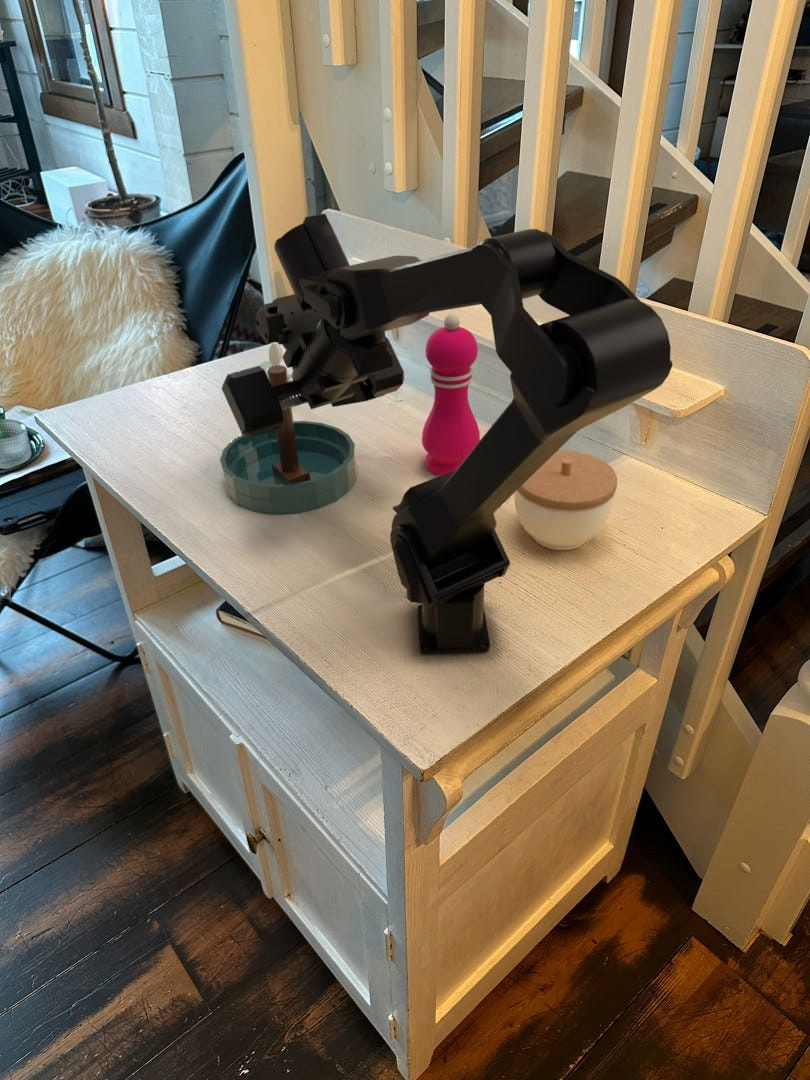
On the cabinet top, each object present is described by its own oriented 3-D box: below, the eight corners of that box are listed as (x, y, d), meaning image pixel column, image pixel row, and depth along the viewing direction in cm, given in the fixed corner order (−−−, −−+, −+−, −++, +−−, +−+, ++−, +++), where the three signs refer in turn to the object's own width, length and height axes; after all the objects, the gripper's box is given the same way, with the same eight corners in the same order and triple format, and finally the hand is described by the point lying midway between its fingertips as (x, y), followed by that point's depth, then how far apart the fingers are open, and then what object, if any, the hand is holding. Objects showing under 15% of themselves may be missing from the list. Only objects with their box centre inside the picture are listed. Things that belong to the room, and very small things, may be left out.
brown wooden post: (310, 482, 93) (297, 372, 85) (290, 489, 92) (275, 379, 84) (292, 466, 97) (278, 359, 88) (272, 473, 95) (256, 365, 87)
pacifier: (267, 398, 115) (301, 385, 118) (260, 359, 112) (295, 347, 114) (245, 382, 120) (277, 371, 123) (237, 345, 116) (271, 334, 119)
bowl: (355, 517, 88) (352, 484, 86) (216, 522, 88) (209, 489, 86) (358, 449, 101) (356, 418, 99) (237, 453, 101) (232, 423, 99)
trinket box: (581, 576, 78) (591, 499, 73) (492, 541, 84) (495, 467, 78) (624, 527, 85) (636, 454, 80) (539, 497, 90) (545, 427, 85)
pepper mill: (475, 486, 93) (480, 327, 81) (417, 481, 94) (414, 324, 83) (482, 457, 99) (487, 305, 87) (427, 452, 100) (425, 302, 88)
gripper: (385, 257, 76) (338, 331, 90) (211, 295, 68) (189, 370, 82) (431, 355, 76) (377, 415, 90) (262, 406, 67) (231, 463, 81)
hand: (296, 413), depth 86 cm, fingers open, 9 cm apart
